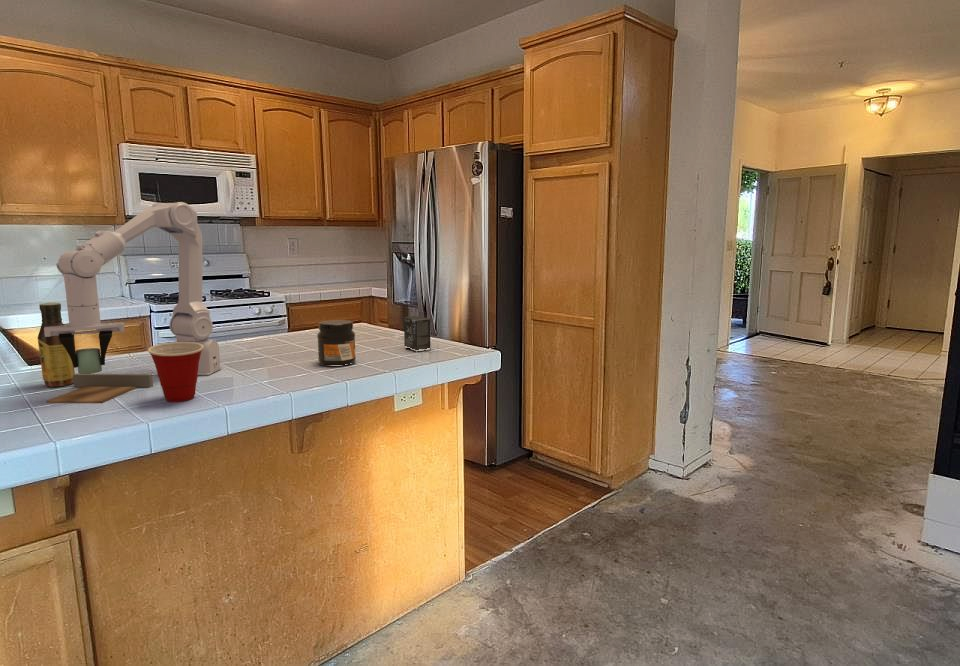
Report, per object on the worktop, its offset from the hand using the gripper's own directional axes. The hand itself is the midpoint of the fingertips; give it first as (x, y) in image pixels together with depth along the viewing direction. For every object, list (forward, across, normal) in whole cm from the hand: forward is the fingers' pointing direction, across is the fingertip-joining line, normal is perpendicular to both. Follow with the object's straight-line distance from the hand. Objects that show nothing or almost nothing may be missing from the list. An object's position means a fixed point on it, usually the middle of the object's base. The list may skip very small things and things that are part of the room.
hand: (89, 365), depth 126 cm
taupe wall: (+7, -4, -6) cm, 10 cm away
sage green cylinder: (+1, 0, 0) cm, 1 cm away
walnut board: (+7, 0, 0) cm, 7 cm away
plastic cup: (+7, -16, +13) cm, 22 cm away
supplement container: (+7, -58, -4) cm, 59 cm away
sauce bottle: (+7, +7, -15) cm, 18 cm away
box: (+7, -87, -11) cm, 88 cm away
